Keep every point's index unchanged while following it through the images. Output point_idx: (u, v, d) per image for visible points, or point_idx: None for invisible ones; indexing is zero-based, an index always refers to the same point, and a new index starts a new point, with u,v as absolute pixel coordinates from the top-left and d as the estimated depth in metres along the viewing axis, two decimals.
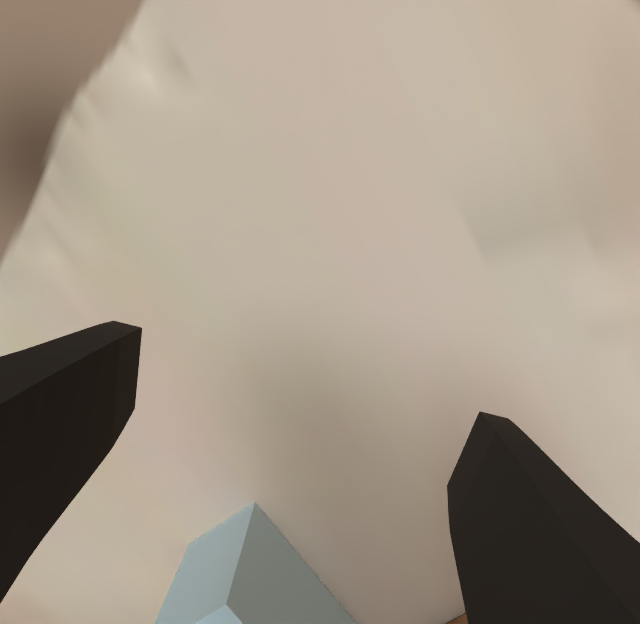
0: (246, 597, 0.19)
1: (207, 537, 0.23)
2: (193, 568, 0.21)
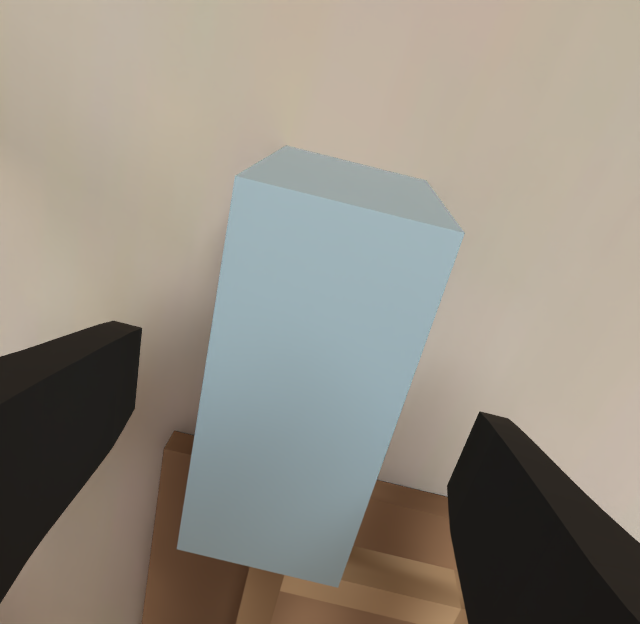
0: None
1: (331, 159, 0.13)
2: (319, 166, 0.12)
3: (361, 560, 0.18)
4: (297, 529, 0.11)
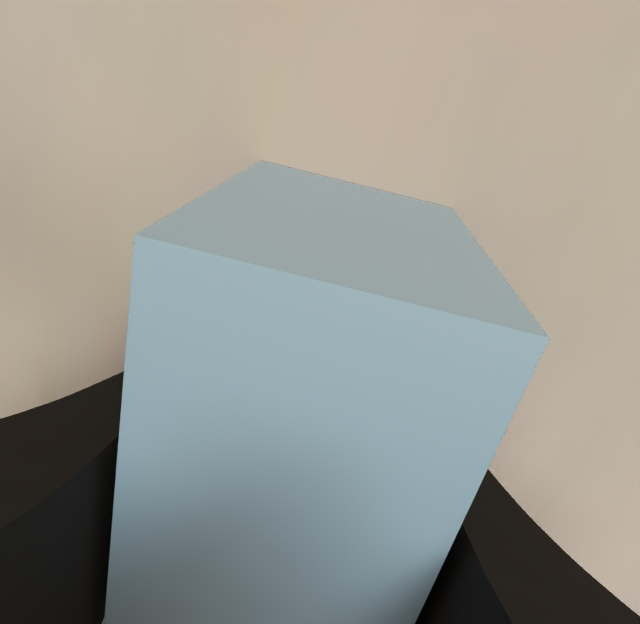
0: None
1: (322, 181, 0.10)
2: (301, 196, 0.08)
3: None
4: None
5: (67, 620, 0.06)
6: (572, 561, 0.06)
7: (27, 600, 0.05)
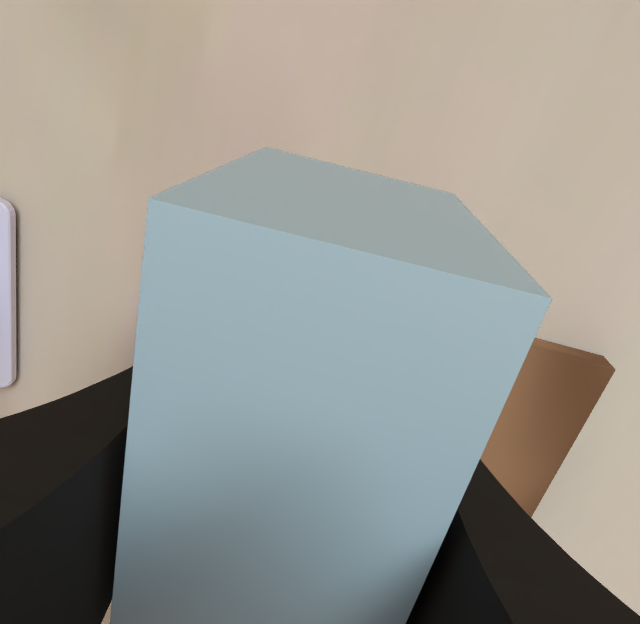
0: None
1: (326, 166, 0.10)
2: (306, 176, 0.08)
3: None
4: None
5: (66, 620, 0.06)
6: (572, 561, 0.06)
7: (26, 599, 0.05)
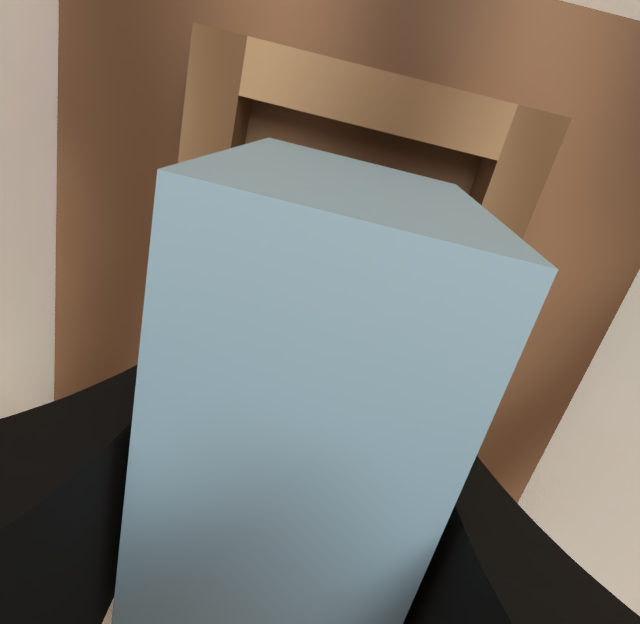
0: None
1: (328, 155, 0.10)
2: (310, 162, 0.08)
3: None
4: None
5: (67, 620, 0.06)
6: (571, 561, 0.06)
7: (27, 600, 0.05)
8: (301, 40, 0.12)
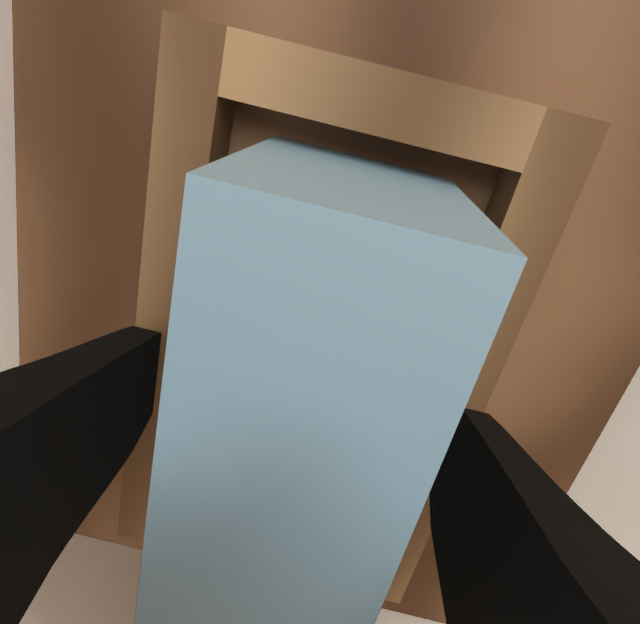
0: None
1: (331, 153, 0.11)
2: (315, 161, 0.09)
3: None
4: None
5: None
6: None
7: None
8: (292, 31, 0.10)
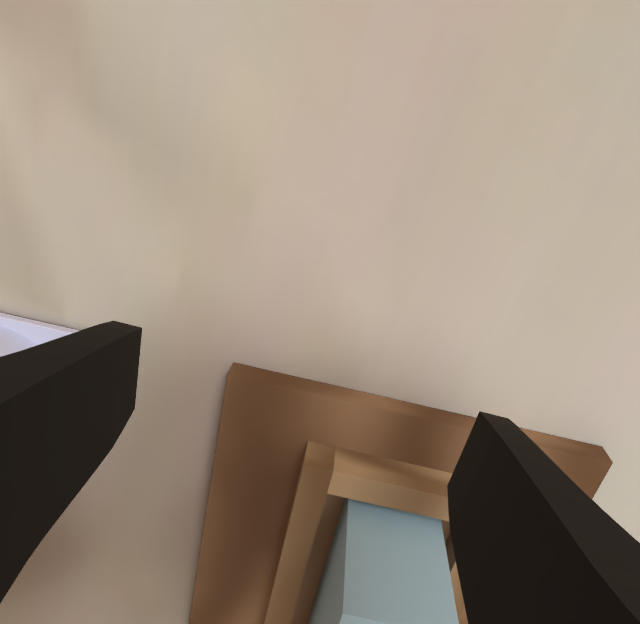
0: None
1: None
2: (375, 534, 0.20)
3: (395, 468, 0.21)
4: None
5: None
6: None
7: None
8: (358, 446, 0.21)
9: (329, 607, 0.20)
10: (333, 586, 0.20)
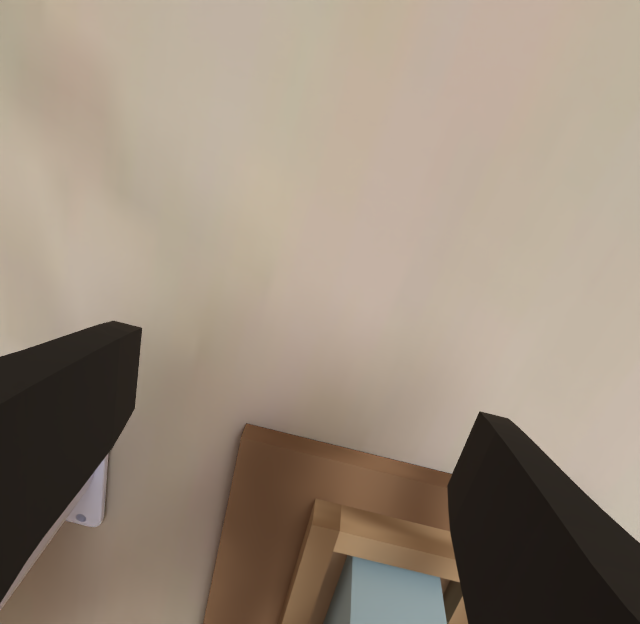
0: None
1: None
2: (378, 592, 0.21)
3: (397, 527, 0.22)
4: None
5: None
6: None
7: None
8: (363, 505, 0.22)
9: None
10: None
